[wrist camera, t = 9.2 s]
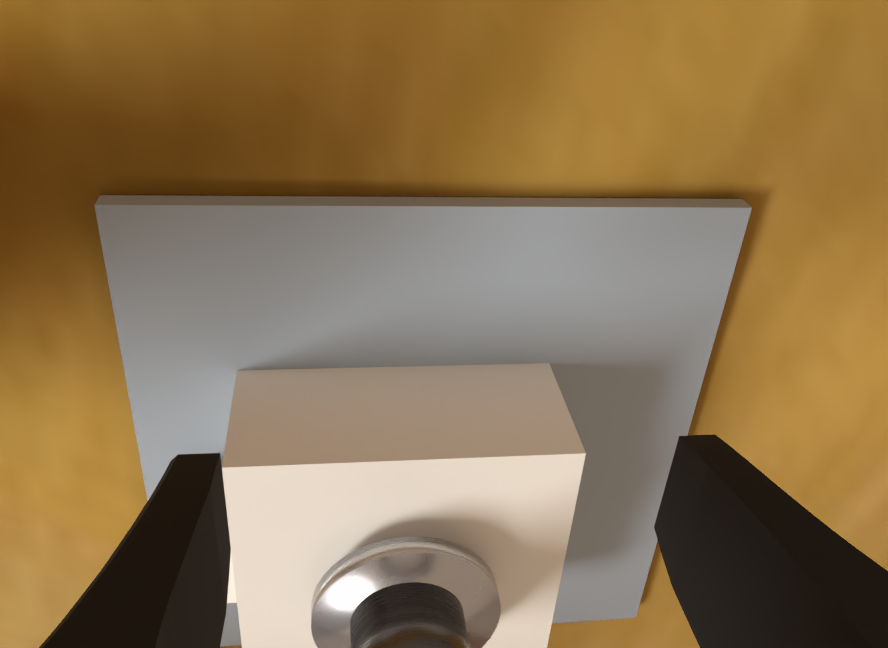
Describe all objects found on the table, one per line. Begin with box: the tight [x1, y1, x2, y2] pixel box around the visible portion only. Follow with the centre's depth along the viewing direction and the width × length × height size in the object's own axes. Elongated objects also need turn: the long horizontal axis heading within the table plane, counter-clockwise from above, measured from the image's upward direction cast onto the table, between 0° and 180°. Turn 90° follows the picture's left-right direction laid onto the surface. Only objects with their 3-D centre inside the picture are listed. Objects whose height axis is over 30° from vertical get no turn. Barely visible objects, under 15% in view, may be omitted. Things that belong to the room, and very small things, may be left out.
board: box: [94, 195, 752, 647], centre depth 26 cm, size 17×17×1 cm
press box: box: [222, 363, 586, 648], centre depth 24 cm, size 9×11×4 cm
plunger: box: [311, 537, 501, 648], centre depth 22 cm, size 5×5×8 cm
